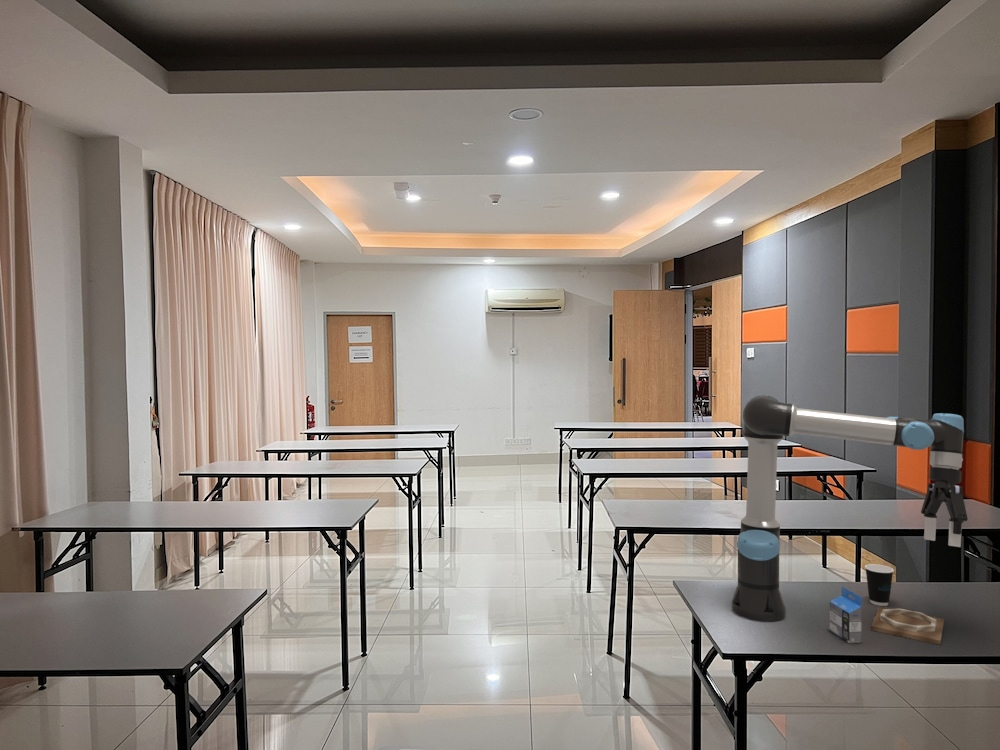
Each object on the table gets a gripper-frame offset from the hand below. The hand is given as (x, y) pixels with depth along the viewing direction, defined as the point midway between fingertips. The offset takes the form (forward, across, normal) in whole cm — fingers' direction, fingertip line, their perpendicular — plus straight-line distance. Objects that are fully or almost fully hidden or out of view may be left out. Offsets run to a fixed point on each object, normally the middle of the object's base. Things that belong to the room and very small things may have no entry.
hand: (941, 543), depth 181 cm
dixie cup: (+22, +20, +7) cm, 31 cm away
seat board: (+25, +2, +6) cm, 26 cm away
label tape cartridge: (+28, -8, +26) cm, 39 cm away
